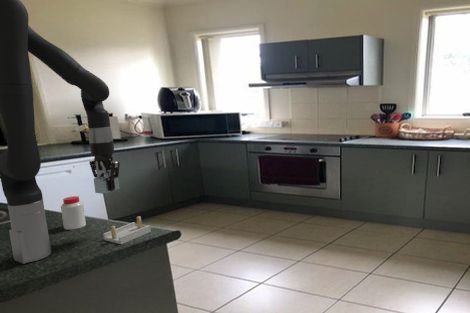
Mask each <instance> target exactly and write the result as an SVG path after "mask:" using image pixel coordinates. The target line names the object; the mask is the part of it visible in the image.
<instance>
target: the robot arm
mask: <svg viewBox="0 0 470 313" xmlns="http://www.w3.org/2000/svg"><path fill="white" fill-rule="evenodd" d="M29 53H30V54H31V55H33V56H34V57H36V58H37V59H38V60H39V61H41V63H43V64H44V65H46V67H48V68H49V69H51V71H53V72H54V73H55V74H56V76H59V78H61V79H62V80H64V81H65V82H66V83H67V84H69V85H71V86H75V87H77V88H78V89H79V90H80V97H81V102H82V105H83V109H84V111H85V114H86V120H87V127H88V140H89V148H90V155H91V156H93V157H94V158H93V160H90V161H89V162H88V163H89V166H90V169H91V172H92V175H93V177H94V178H98V177H102V176H106V177H107V180H108V181H107V184H108V190H109V191H111V192H113V190H114V191H116V190H115V183H114V179H115V178H118V179H119V172H120V163H121V162H120V161H118V160H117V161H116V160H114V158H113V157H114V156H113V154H115V147H114V146H115V145H114V138H113V132H112V127H111V120H110V114H109V112H108V111H107V110H106V109H105V108H104V103H103V102H104V101H106V100H108V98H109V97H110V89H109V86H108V85H107V83H106V82H105V81H104V80H102V79H101V78H100V77H99V76H97V75H95V74H94V73H92V72H91V71H89V70H87V69H86V68H85V67H83V66H82V65H81V64H80V63H79V61H77V60H76V59H74V58H73V56H71V55H70V54H69V53H68V52H66V51H64V50H63V49H62V48H60V47H59V46H57V45H55V44H54V43H52V42H50V41H48V40H47V39H45V38H44V37H42V36H41V35H40V34H38V33H37V32H36V31H35V30H34V29H33V28H32V27H31V26H29V13H28V10H27V8H26V5H25V4H24V3H23V2H22V1H21V0H0V117H1V120H2V122H3V125H4V127H5V128H4V129H5V131H6V132H5V133H6V138H7V140H6V141H7V150H5V151H3V153H1V155H0V183H1V188H2V192H3V195H4V197H5V198H6V204H7V209H8V216H9V220H10V221H9V222H10V228H11V229H9V230H8V233H9V237H10V238H9V239H10V243H11V245H10V246H11V249H12V255H13V260H14V261H15V262H18V263H20V264H23V265H24V264H26V263H31V262H35V261H40V260H43V259H44V258H47V257H49V256H50V255H51V254H52V248H51V242H50V237H49V231H48V222H47V217H46V211H45V204H44V198H43V192H42V190H41V188H40V187H39V185H38V183H37V180H36V176H37V175H38V174H39V172H40V170H41V165H42V163H41V156H40V151H39V145H38V142H37V141H38V140H37V135H36V127H35V126H36V125H35V108H34V90H33V89H34V88H33V81H32V72H31V71H32V70H31V63H30V56H29ZM109 175H110V176H109Z"/></svg>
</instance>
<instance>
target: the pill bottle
mask: <svg viewBox="0 0 470 313" xmlns="http://www.w3.org/2000/svg"><path fill="white" fill-rule="evenodd" d="M62 200H63V204H61V206H60V211H61V218H62V224H63V229H64V230H66V231H67V230H68V231H69V230H71V231H72V230H78V229H80V228H83V227H84V226H86V225H87V222H86V215H85V207H84V203H83V201H81V200H80V197H79V195H77V196H76V195H75V196H69V197H64V198H63V199H62Z"/></svg>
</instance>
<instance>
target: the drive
mask: <svg viewBox="0 0 470 313" xmlns="http://www.w3.org/2000/svg"><path fill="white" fill-rule="evenodd" d="M109 176H110V174H109ZM119 180H120V179H119V177H118V178H115V179H114V183H115V190H113V191H116V190H120V181H119ZM107 181H108V180H107V177H106V175H105V176H102V177H98V178H96V177H94V178H93V185H94V192H95V194H101V195H103V194H107V193H110V192H113V191H109V190H108V184H107Z"/></svg>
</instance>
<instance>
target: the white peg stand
mask: <svg viewBox="0 0 470 313" xmlns="http://www.w3.org/2000/svg"><path fill="white" fill-rule="evenodd" d="M136 223H137V225H136ZM142 225H143V224H142V217H141V216H138V215H137V216H136V222H134V221H133V222H130V223H128V224H125V225H122V226H120V227H116V225H111V226H110V230H109V231H107V232H103V241H106V242H110V243H113V244H118V245H123V244H126V243H128V242H130V241H133V240H134V239H137V238H140V237H142V236H144V235H147V234H148V233H151V232H152V228H151V225H150V224H148V225H145V226H142Z"/></svg>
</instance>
